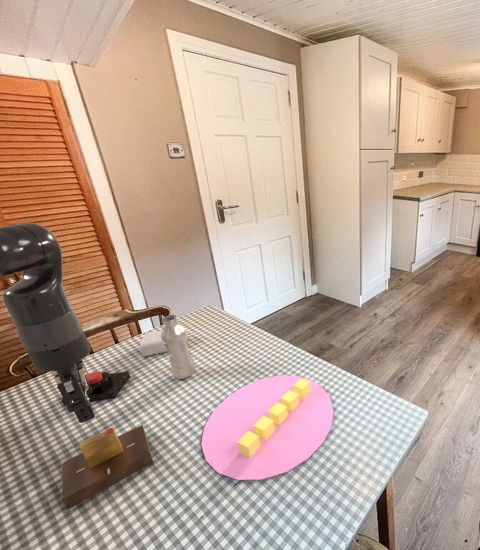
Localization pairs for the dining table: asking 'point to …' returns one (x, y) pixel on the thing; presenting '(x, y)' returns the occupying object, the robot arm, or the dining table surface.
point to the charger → (154, 343)
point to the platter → (267, 427)
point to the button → (94, 377)
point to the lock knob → (101, 447)
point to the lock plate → (105, 468)
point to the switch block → (107, 386)
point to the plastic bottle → (177, 347)
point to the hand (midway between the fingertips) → (86, 406)
